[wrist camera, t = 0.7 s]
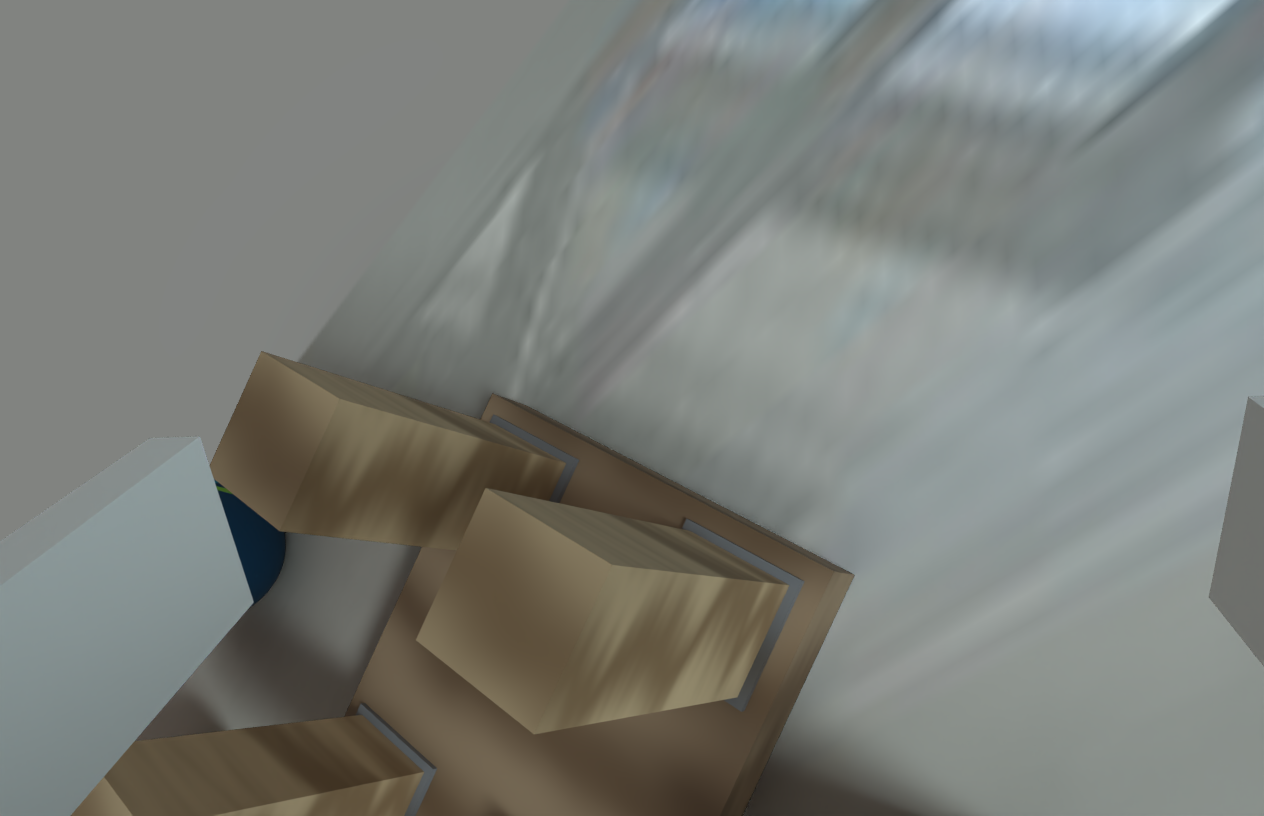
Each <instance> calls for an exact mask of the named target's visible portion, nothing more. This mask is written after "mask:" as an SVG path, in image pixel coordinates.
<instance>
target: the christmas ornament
mask: <svg viewBox="0 0 1264 816" xmlns="http://www.w3.org/2000/svg"><path fill="white" fill-rule="evenodd" d="M214 481H215V484H216V487H217V490H218V493H219V497H220V500H221V503H222V506H223V509H224V512H225V515H226V518H227V521H228V524H229V527H230V530H231V534H232V537H233V540H234V543H235V546H236V549H237V552H238V555H239V558H240V561H241V564H242V567H243V571H244V574H245V577H246V580H247V583H248V586H249V589H250V592H251V595H252V598H253V601H254V603H253V604H252V605H251V606H253V605H254V604H255V603H257V602H258V601H259V600H260V599H261V598H262V597H263V596H264V595H265V594H266V593H267V592H268V591H269V590H270V588H271V587H272V586H273V584H274V582H275V581H276V579H277V577H278V575H279V573H280V571H281V568H282V565H283V561H284V556H285V535H284V532H282V531H279V530H278V529H276V528H275V527H274V526H273V525H271V524H270V523H269V522H268V521H266V520H265V519H264V518H263V517H261V516H260V515H259V514H257V513H256V512H255V511H254V510H252V509H251V508H250V507H249V506H247V505H246V504H245V503H244V502H242V501H241V500H240V499H239V498H237V497H236V496H235V495H234V494H232V493H231V492H230V491H229V490H227V489H226V488H225V487H224V486H222V485H221V484H220V483H219V482H217V481H216V480H215V479H214ZM251 606H250V607H251ZM250 607H249V608H250Z"/></svg>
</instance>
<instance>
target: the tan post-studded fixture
mask: <svg viewBox="0 0 1264 816" xmlns="http://www.w3.org/2000/svg"><path fill="white" fill-rule="evenodd" d="M210 469H211V472H212V475H213V478H214V479H215V480H216V481H217V482H219V483H220V484H221V485H222V486H224V487H225V488H226V489H227V490H229V491H230V492H231V493H232V494H234V495H235V496H236V497H237V498H239V499H240V500H241V501H242V502H244V503H245V504H246V505H247V506H249V507H250V508H251V509H252V510H254V511H255V512H256V513H257V514H259V515H260V516H261V517H263V518H264V519H265V520H266V521H268V522H269V523H270V524H271V525H273V526H274V527H275V528H276V529H278V530H279V531H282V532H291V533H301V534H310V535H319V536H328V537H337V538H346V539H355V540H365V541H374V542H383V543H392V544H401V545H410V546H420V547H422V548H421V550H420V552H419V555H418V557H417V559H416V561H415V563H414V566H413V568H412V570H411V572H410V574H409V576H408V579H407V581H406V583H405V585H404V587H403V590H402V592H401V594H400V596H399V598H398V600H397V603H396V605H395V607H394V609H393V611H392V614H391V616H390V618H389V620H388V622H387V624H386V627H385V629H384V631H383V633H382V635H381V638H380V640H379V642H378V644H377V646H376V648H375V651H374V653H373V655H372V657H371V659H370V662H369V664H368V666H367V668H366V670H365V672H364V675H363V677H362V679H361V681H360V683H359V686H358V688H357V690H356V692H355V694H354V696H353V699H352V701H351V703H350V705H349V707H348V710H347V712H346V714H345V716H344V717H339V718H331V719H322V720H313V721H305V722H296V723H288V724H279V725H270V726H262V727H253V728H245V729H236V730H228V731H219V732H210V733H202V734H193V735H185V736H176V737H168V738H159V739H150V740H142V741H134V742H133V743H132V745H131V746H130V747H129V748H128V749H127V750H126V752H125V753H124V754H123V755H122V756H121V757H120V759H119V760H118V761H117V762H116V763H115V764H114V766H113V767H112V768H111V769H110V770H109V771H108V773H107V774H106V775H105V776H104V777H103V778H102V780H101V781H100V782H99V783H98V784H97V785H96V786H95V788H94V789H93V790H92V791H91V792H90V793H89V795H88V796H87V797H86V798H85V799H84V800H83V802H82V803H81V804H80V805H79V806H78V807H77V809H76V810H75V811H74V812H73V813H72V814H71V816H742V815H743V813H744V811H745V808H746V806H747V804H748V802H749V800H750V798H751V796H752V794H753V791H754V789H755V787H756V785H757V783H758V781H759V779H760V776H761V774H762V772H763V770H764V768H765V766H766V764H767V761H768V759H769V757H770V755H771V753H772V751H773V749H774V746H775V744H776V742H777V740H778V738H779V736H780V734H781V731H782V729H783V727H784V725H785V723H786V721H787V719H788V717H789V714H790V712H791V710H792V708H793V706H794V704H795V702H796V699H797V697H798V695H799V693H800V691H801V689H802V687H803V684H804V682H805V680H806V678H807V676H808V674H809V672H810V669H811V667H812V665H813V663H814V661H815V659H816V657H817V654H818V652H819V650H820V648H821V646H822V644H823V642H824V640H825V637H826V635H827V633H828V631H829V629H830V627H831V625H832V622H833V620H834V618H835V616H836V614H837V612H838V610H839V607H840V605H841V603H842V601H843V599H844V597H845V595H846V592H847V590H848V588H849V586H850V584H851V582H852V580H853V577H854V574H852V573H850V572H848V571H846V570H844V569H842V568H840V567H838V566H836V565H834V564H832V563H830V562H828V561H826V560H825V559H823V558H821V557H819V556H817V555H815V554H813V553H811V552H809V551H807V550H805V549H803V548H801V547H799V546H797V545H795V544H794V543H792V542H790V541H788V540H786V539H784V538H782V537H780V536H778V535H776V534H774V533H772V532H770V531H768V530H766V529H764V528H762V527H761V526H759V525H757V524H755V523H753V522H751V521H749V520H747V519H745V518H743V517H741V516H739V515H737V514H735V513H733V512H731V511H730V510H728V509H726V508H724V507H722V506H720V505H718V504H716V503H714V502H712V501H710V500H708V499H706V498H704V497H702V496H700V495H699V494H697V493H695V492H693V491H691V490H689V489H687V488H685V487H683V486H681V485H679V484H677V483H675V482H673V481H671V480H669V479H667V478H666V477H664V476H662V475H660V474H658V473H656V472H654V471H652V470H650V469H648V468H646V467H644V466H642V465H640V464H638V463H636V462H635V461H633V460H631V459H629V458H627V457H625V456H623V455H621V454H619V453H617V452H615V451H613V450H611V449H609V448H607V447H605V446H603V445H602V444H600V443H598V442H596V441H594V440H592V439H590V438H588V437H586V436H584V435H582V434H580V433H578V432H576V431H574V430H572V429H571V428H569V427H567V426H565V425H563V424H561V423H559V422H557V421H555V420H553V419H551V418H549V417H547V416H545V415H543V414H541V413H540V412H538V411H536V410H534V409H532V408H530V407H528V406H526V405H523V404H520V403H517V402H515V401H512V400H509V399H506V398H503V397H501V396H498V395H495V394H492V395H491V398H490V400H489V402H488V404H487V406H486V408H485V411H484V413H483V415H482V417H481V419H477V418H473V417H470V416H467V415H464V414H461V413H457V412H454V411H451V410H448V409H445V408H441V407H438V406H435V405H432V404H429V403H425V402H422V401H419V400H416V399H413V398H409V397H406V396H403V395H400V394H397V393H393V392H390V391H387V390H384V389H381V388H378V387H374V386H371V385H368V384H365V383H362V382H358V381H355V380H352V379H349V378H346V377H342V376H339V375H336V374H333V373H330V372H326V371H323V370H320V369H317V368H314V367H310V366H307V365H304V364H301V363H298V362H294V361H291V360H288V359H285V358H281V357H278V356H275V355H272V354H268V353H265V352H262V351H261V354H260V356H259V358H258V360H257V362H256V365H255V367H254V369H253V371H252V373H251V375H250V378H249V380H248V382H247V384H246V387H245V389H244V391H243V393H242V395H241V398H240V400H239V402H238V404H237V406H236V409H235V411H234V413H233V415H232V417H231V420H230V422H229V424H228V426H227V428H226V431H225V433H224V435H223V437H222V439H221V442H220V444H219V446H218V448H217V450H216V453H215V455H214V457H213V459H212V462H211V464H210Z"/></svg>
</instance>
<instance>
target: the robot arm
mask: <svg viewBox="0 0 1264 816" xmlns="http://www.w3.org/2000/svg"><path fill="white" fill-rule="evenodd" d="M1209 598H1210V599H1211V601H1212V602H1213V603H1214V604H1215V606H1216V607H1217V608H1218V609H1219V611H1220V612H1221V613H1222V614H1223V616H1224V617H1225V618H1226V619H1227V621H1228V622H1229V623H1230V624H1231V626H1232V627H1233V628H1234V629H1235V631H1236V632H1237V633H1238V634H1239V636H1240V637H1241V638H1242V640H1243V641H1244V642H1245V643H1246V645H1247V646H1248V647H1249V648H1250V650H1251V651H1252V652H1253V653H1254V655H1255V656H1256V657H1257V658H1258V660H1259V661H1260V662H1261V663H1262V665H1263V666H1264V396H1254V397H1248V401H1247V406H1246V411H1245V416H1244V421H1243V426H1242V431H1241V436H1240V441H1239V446H1238V452H1237V457H1236V462H1235V467H1234V472H1233V477H1232V482H1231V487H1230V492H1229V497H1228V502H1227V507H1226V513H1225V518H1224V523H1223V528H1222V533H1221V538H1220V543H1219V548H1218V553H1217V558H1216V563H1215V569H1214V574H1213V579H1212V584H1211V589H1210V594H1209ZM253 603H254V601H253V598H252V595H251V592H250V589H249V586H248V583H247V580H246V577H245V574H244V571H243V567H242V564H241V561H240V558H239V555H238V552H237V549H236V546H235V543H234V540H233V537H232V534H231V530H230V527H229V524H228V521H227V518H226V515H225V512H224V509H223V506H222V503H221V500H220V497H219V493H218V490H217V487H216V484H215V481H214V478H213V475H212V472H211V469H210V466H209V463H208V460H207V457H206V454H205V450H204V447H203V444H202V441H201V438H200V436H193V437H166V438H149V439H148V440H146V441H145V442H143V443H142V444H140V445H139V446H138V447H136V448H135V449H133V450H132V451H130V452H129V453H127V454H126V455H124V456H123V457H121V458H120V459H119V460H117V461H116V462H114V463H113V464H111V465H110V466H108V467H107V468H106V469H104V470H103V471H101V472H100V473H98V474H97V475H95V476H94V477H93V478H91V479H90V480H88V481H87V482H85V483H84V484H83V485H81V486H79V487H78V488H77V489H75V490H74V491H72V492H71V493H69V494H68V495H66V496H65V497H64V498H62V499H61V500H59V501H58V502H56V503H55V504H53V505H52V506H51V507H49V508H48V509H46V510H45V511H43V512H42V513H40V514H39V515H37V516H36V517H34V518H33V519H32V520H30V521H29V522H27V523H26V524H24V525H23V526H21V527H20V528H19V529H17V530H16V531H14V532H13V533H11V534H10V535H8V536H7V537H5V538H4V539H3V540H1V541H0V816H71V814H72V813H73V812H74V811H75V810H76V809H77V807H78V806H79V805H80V804H81V803H82V802H83V800H84V799H85V798H86V797H87V796H88V795H89V793H90V792H91V791H92V790H93V789H94V788H95V786H96V785H97V784H98V783H99V782H100V781H101V780H102V778H103V777H104V776H105V775H106V774H107V773H108V771H109V770H110V769H111V768H112V767H113V766H114V764H115V763H116V762H117V761H118V760H119V759H120V757H121V756H122V755H123V754H124V753H125V752H126V750H127V749H128V748H129V747H130V746H131V745H132V743H133V742H134V741H135V740H136V739H137V738H138V736H139V735H140V734H141V733H142V732H143V731H144V729H145V728H146V727H147V726H148V725H149V724H150V723H151V721H152V720H153V719H154V718H155V717H156V716H157V714H158V713H159V712H160V711H161V710H162V709H163V707H164V706H165V705H166V704H167V703H168V702H169V700H170V699H171V698H172V697H173V696H174V695H175V693H176V692H177V691H178V690H179V689H180V688H181V686H182V685H183V684H184V683H185V682H186V681H187V679H188V678H189V677H190V676H191V675H192V674H193V672H194V671H195V670H196V669H197V668H198V667H199V665H200V664H201V663H202V662H203V661H204V660H205V659H206V657H207V656H208V655H209V654H210V653H211V652H212V650H213V649H214V648H215V647H216V646H217V645H218V643H219V642H220V641H221V640H222V639H223V638H224V636H225V635H226V634H227V633H228V632H229V631H230V629H231V628H232V627H233V626H234V625H235V624H236V622H237V621H238V620H239V619H240V618H241V617H242V615H243V614H244V613H245V612H246V611H247V610H248V608H249V607H250V606H251V605H252V604H253Z"/></svg>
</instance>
